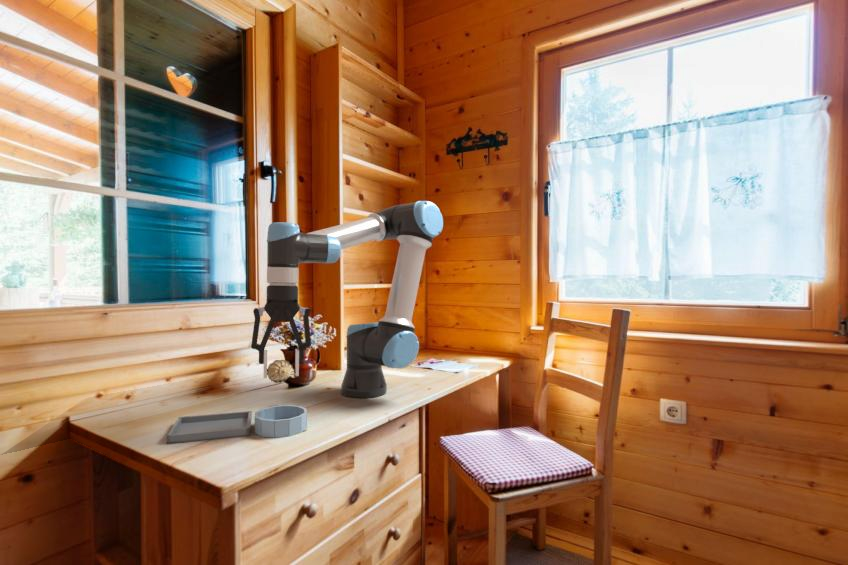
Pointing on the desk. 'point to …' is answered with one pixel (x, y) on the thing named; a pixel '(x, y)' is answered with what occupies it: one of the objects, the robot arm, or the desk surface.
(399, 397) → the desk surface
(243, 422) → the tray
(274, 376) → the seashell
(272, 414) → the bowl
